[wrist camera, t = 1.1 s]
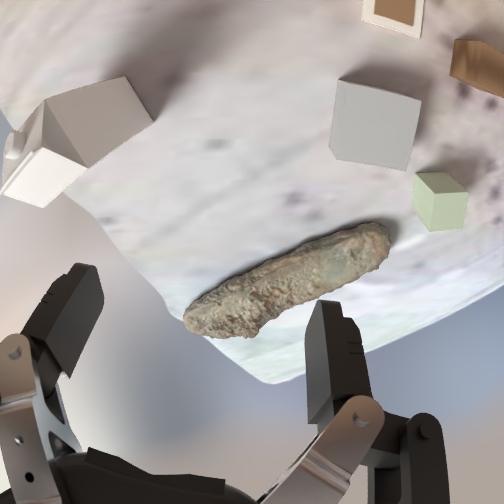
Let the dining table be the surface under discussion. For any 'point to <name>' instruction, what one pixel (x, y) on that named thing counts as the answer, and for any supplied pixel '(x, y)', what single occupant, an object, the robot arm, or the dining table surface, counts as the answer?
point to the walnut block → (478, 66)
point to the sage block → (439, 201)
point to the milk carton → (69, 139)
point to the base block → (373, 125)
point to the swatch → (395, 15)
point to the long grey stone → (288, 282)
